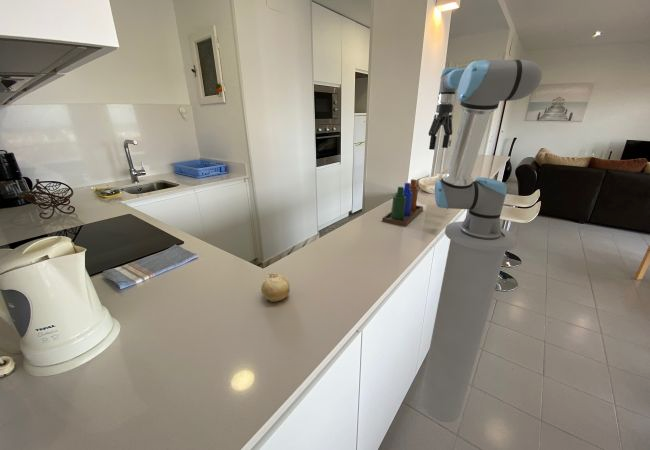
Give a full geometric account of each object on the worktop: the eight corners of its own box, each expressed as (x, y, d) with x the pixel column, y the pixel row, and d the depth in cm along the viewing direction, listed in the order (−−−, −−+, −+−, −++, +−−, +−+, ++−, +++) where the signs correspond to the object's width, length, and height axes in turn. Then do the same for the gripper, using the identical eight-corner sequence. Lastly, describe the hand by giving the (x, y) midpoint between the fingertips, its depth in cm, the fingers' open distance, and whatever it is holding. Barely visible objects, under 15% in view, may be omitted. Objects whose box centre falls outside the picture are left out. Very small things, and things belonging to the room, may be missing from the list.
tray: (422, 210, 153) (423, 206, 152) (405, 226, 130) (405, 222, 129) (402, 206, 159) (402, 203, 158) (382, 221, 136) (382, 217, 135)
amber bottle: (416, 209, 153) (420, 179, 147) (413, 211, 148) (417, 181, 142) (406, 207, 156) (409, 178, 150) (402, 209, 151) (406, 180, 145)
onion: (294, 291, 81) (293, 270, 79) (283, 308, 74) (281, 285, 72) (269, 286, 83) (268, 266, 81) (256, 302, 76) (254, 280, 74)
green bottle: (404, 219, 137) (408, 186, 131) (400, 223, 132) (404, 189, 126) (393, 217, 140) (396, 185, 134) (389, 220, 136) (392, 187, 129)
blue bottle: (411, 213, 145) (415, 182, 139) (407, 217, 140) (411, 185, 134) (400, 211, 148) (403, 181, 142) (396, 214, 143) (399, 183, 137)
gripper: (449, 105, 146) (443, 146, 154) (425, 103, 131) (419, 149, 139) (464, 104, 141) (456, 147, 149) (440, 103, 126) (433, 151, 133)
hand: (438, 148), depth 144 cm, fingers open, 13 cm apart
